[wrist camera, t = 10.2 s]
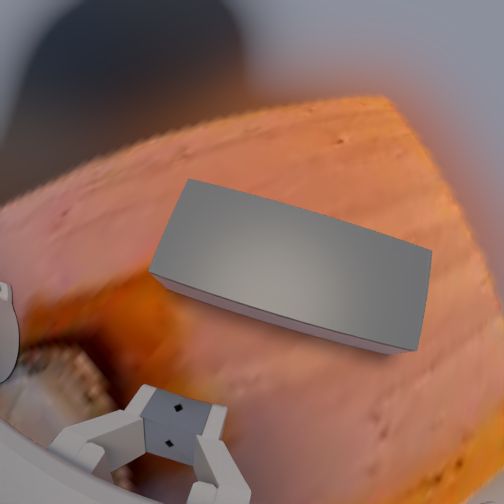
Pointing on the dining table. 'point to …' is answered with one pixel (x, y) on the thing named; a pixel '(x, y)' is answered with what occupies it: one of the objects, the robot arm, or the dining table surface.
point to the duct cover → (296, 264)
